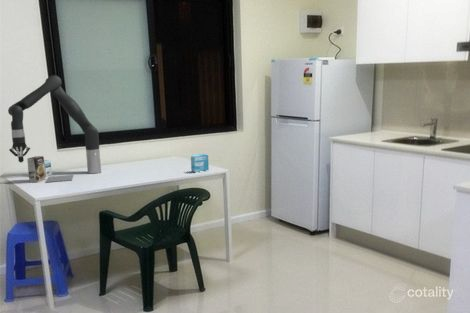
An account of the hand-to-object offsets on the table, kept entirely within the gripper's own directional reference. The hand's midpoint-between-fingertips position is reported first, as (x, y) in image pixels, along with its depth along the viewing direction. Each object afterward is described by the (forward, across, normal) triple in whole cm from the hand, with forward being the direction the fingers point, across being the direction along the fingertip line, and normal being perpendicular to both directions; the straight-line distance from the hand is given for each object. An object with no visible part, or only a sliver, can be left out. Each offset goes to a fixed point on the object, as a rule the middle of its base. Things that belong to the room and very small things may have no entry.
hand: (21, 162), depth 288 cm
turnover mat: (+13, -23, 0) cm, 26 cm away
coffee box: (+14, -9, 0) cm, 16 cm away
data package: (+14, -118, +10) cm, 119 cm away
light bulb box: (+14, -10, -18) cm, 25 cm away
